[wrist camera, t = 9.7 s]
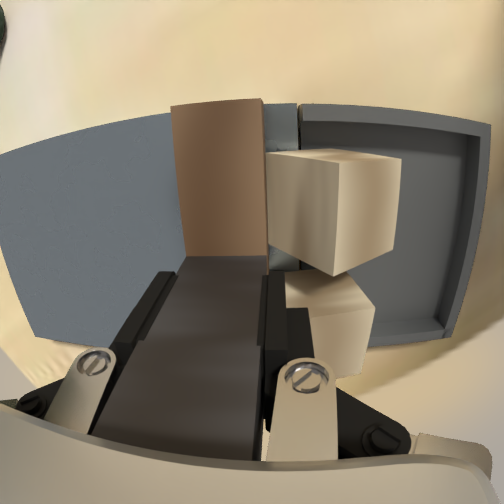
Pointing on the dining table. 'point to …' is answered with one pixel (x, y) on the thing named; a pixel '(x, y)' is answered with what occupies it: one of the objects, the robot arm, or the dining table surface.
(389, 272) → the tray
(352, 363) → the pale wooden cube
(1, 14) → the coffee jar
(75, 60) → the dining table surface
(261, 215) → the brown handled push block
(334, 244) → the chip
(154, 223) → the board
